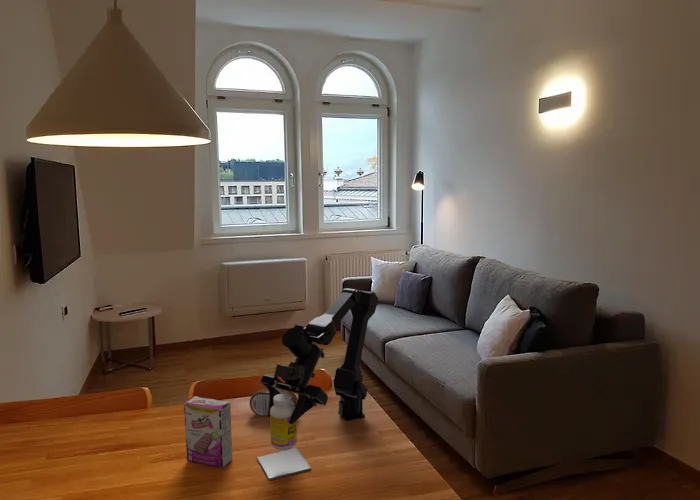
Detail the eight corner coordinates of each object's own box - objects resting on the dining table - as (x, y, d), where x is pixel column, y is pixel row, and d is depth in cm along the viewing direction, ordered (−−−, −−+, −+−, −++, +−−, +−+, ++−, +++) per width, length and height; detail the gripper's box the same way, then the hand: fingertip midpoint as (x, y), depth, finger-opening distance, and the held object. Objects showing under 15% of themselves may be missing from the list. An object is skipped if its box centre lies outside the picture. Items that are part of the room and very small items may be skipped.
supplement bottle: (289, 453, 132) (287, 404, 130) (266, 448, 134) (264, 400, 132) (301, 440, 138) (300, 393, 136) (279, 436, 140) (277, 390, 139)
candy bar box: (185, 462, 138) (182, 402, 136) (197, 452, 143) (194, 395, 141) (222, 469, 135) (220, 408, 132) (233, 459, 139) (231, 400, 137)
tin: (298, 414, 165) (298, 388, 164) (296, 419, 162) (296, 393, 161) (251, 412, 167) (250, 387, 166) (248, 417, 164) (248, 391, 163)
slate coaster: (296, 449, 144) (296, 447, 144) (311, 469, 134) (311, 467, 134) (257, 458, 140) (257, 457, 139) (269, 480, 130) (269, 478, 130)
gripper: (263, 344, 141) (235, 399, 133) (320, 357, 131) (294, 417, 123) (282, 363, 149) (257, 416, 141) (338, 376, 139) (314, 434, 131)
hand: (279, 420), depth 134 cm, fingers closed on supplement bottle, 7 cm apart
